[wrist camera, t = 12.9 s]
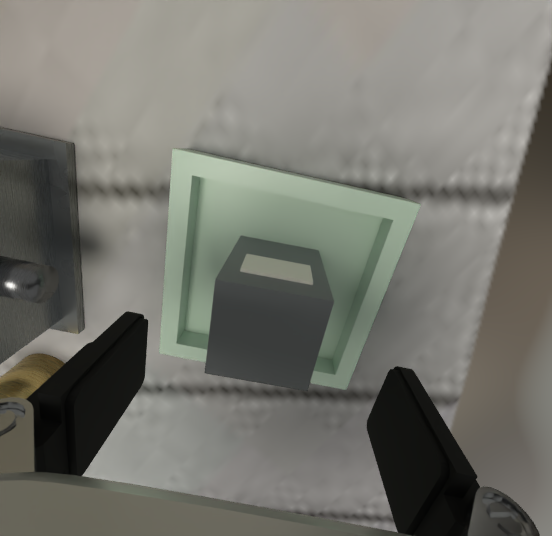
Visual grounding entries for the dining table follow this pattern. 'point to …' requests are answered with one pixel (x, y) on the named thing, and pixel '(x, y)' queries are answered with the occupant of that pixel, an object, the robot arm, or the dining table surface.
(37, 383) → the cylinder
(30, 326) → the box
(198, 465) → the dining table surface
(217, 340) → the block
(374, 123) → the dining table surface
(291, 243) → the tray
